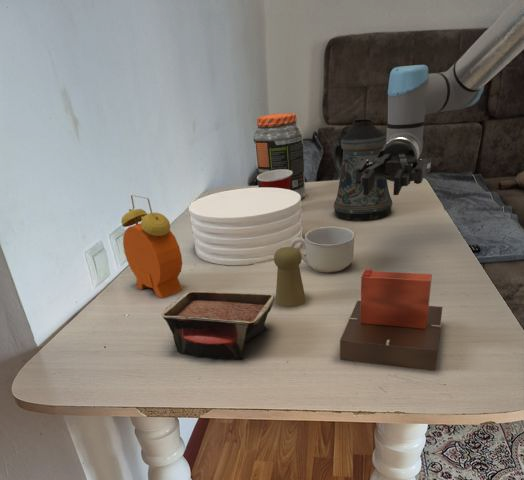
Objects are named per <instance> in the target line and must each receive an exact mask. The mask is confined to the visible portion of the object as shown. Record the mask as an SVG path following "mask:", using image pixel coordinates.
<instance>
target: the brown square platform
mask: <svg viewBox="0 0 524 480" xmlns="http://www.w3.org/2000/svg"><path fill="white" fill-rule="evenodd" d="M442 315H443V306H434V305H429V309H428V319H427V326H426V329H420V328H409V327H398V326H386V325H375V324H364V323H360V316H361V300H357V301H356V303H355V305H354V307H353V309H352V312H351V314H350V316H349V317H348V322H347V324H346V326H345V329H344V330H343V332H342V335H341V338H340V340H339V355H340V356H339V360H340V361H345V362H356V363H362V364H370V365H371V364H372V365H381V366H387V367H388V366H389V367H398V368H405V369H415V370H423V371H431V372H436V368H437V359H438V352H439V343H440V333H441V328H442V324H441V323H442Z"/></svg>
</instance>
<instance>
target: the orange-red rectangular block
mask: <svg viewBox="0 0 524 480" xmlns="http://www.w3.org/2000/svg"><path fill="white" fill-rule="evenodd" d="M432 278H433V274H432V273H418V272H417V273H416V272H398V271H397V272H396V271H379V270H376V271H375V270H372V269H365V270H364V271H363V273H362V275H361V277H360V279H361V280H360V301H361V316H360V323H364V324H375V325H386V326H398V327H409V328H420V329H426V326H427V319H428V309H429V306H430V298H431V288H432V287H431V286H432Z"/></svg>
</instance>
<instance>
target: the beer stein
mask: <svg viewBox="0 0 524 480" xmlns="http://www.w3.org/2000/svg"><path fill="white" fill-rule="evenodd" d="M386 136H387V135H386V134H385V133H384V132H383V131H382V130H380V129H378V128H377V127H376V126H375V124H373V122H372V119H355V120H353V122H352V124H351V125H345V126H344V127H342V129H341V131H340V136H339V137H338V138H337V139H336V140H335V144H334V145H333V149H332V159H333V163H334V166H335V169H336V172H337V174H338V176H339V182H338V189H337V192H336V198H335V201H334V203H333V209H334V213H335V217H336V218H338V219H340V220H343V221H347V222H372V221H379V220H382V219H384V218H387V217H389V216H390V214H391V210H392V206H393V200H392V197H391V194H390V190H389V185H388V180H387V179H385V178H379V179H378V180H376V181H375V182H374V187H373V188H372V190H371V191H370V193H369V194H368V195H363V194H364V186H361V183H360V184H355V168H356V167H357V166H358V164H359V159H362V158H363V159H366V160H369V162H372V161H373V160H374V159H375V158H377V157H378V154H379V152H380V151H381V149H382V148H383V147H384V145H385V144H386Z"/></svg>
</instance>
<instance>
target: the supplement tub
mask: <svg viewBox="0 0 524 480" xmlns="http://www.w3.org/2000/svg"><path fill="white" fill-rule="evenodd" d="M297 121H298V119H297V114H296V113H294V112H287V113H285V112H284V113H273V114H267V115H266V114H265V115H261V116H258V117H257V118H256V125H257V129H256V130H255V132H254V134H253V147H254V157H255V165H256V166H255V167H256V177H257V176H258V175H260V174H262V173H264V172H268V171H272V170H281V169H283V170H291V171H292V172H293V173H292V176H291V182H290V190H292V191H295V192H297V193H298V194H300V196H301V200H302V199H303V198H304V197H305V194H306V181H305V180H306V179H305V160H304V159H305V158H304V142H303V140H304V139H303V132H302V129H301V128H300V126H299V124H298V122H297ZM259 187H261V185H260V182H259V180H258V179H257V188H259Z"/></svg>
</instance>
